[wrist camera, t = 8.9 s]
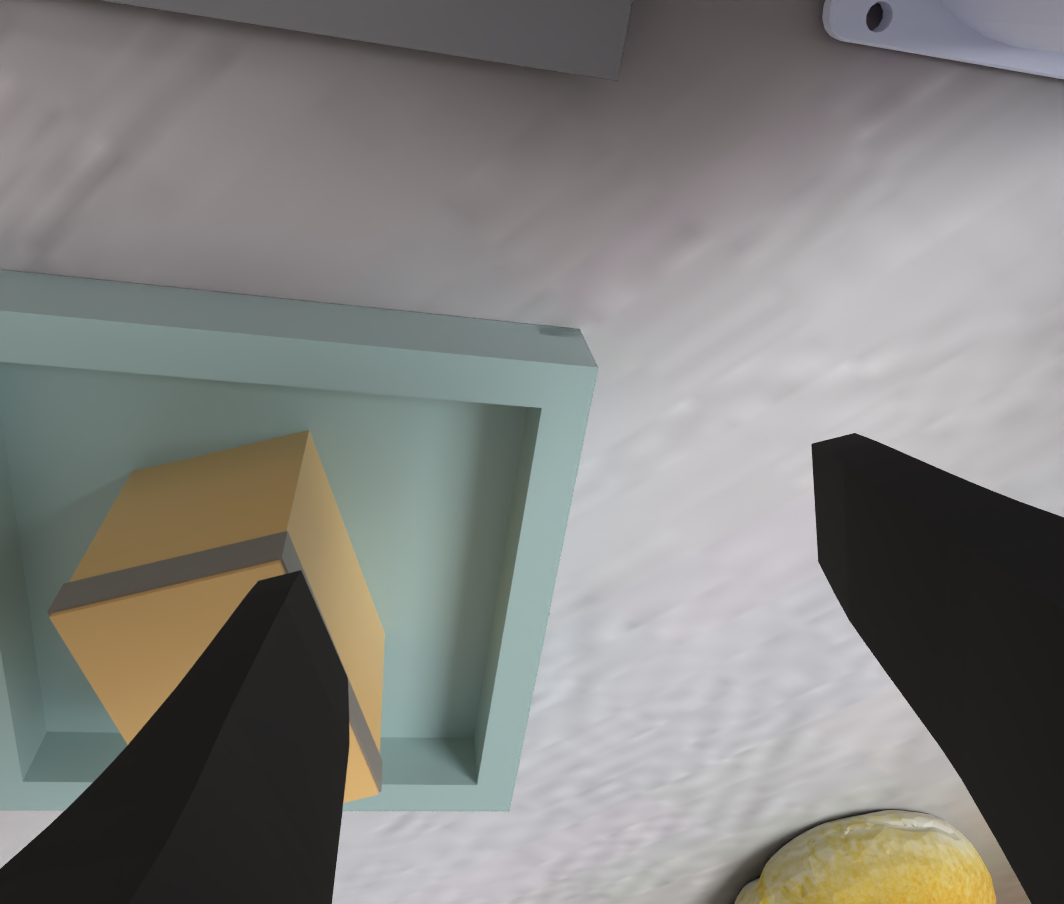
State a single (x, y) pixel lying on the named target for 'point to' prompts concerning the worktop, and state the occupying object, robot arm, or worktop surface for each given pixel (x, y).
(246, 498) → the tan box
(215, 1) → the grey rectangular frame
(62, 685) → the parts tray
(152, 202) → the worktop surface
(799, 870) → the bread roll
